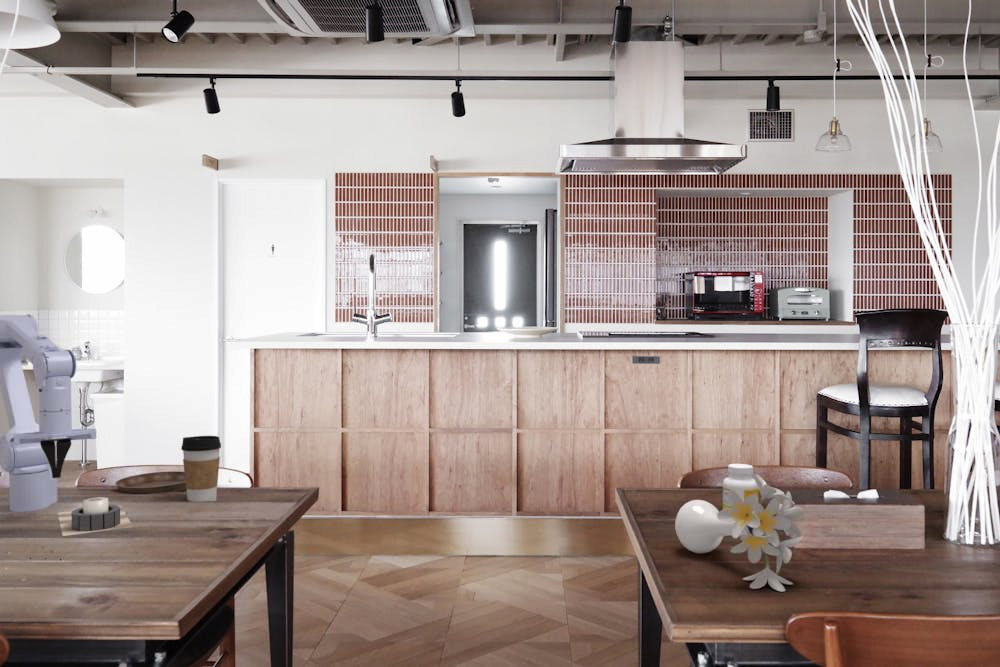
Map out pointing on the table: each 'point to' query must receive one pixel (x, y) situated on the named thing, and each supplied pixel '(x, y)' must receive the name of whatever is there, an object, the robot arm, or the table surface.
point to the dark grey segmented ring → (95, 519)
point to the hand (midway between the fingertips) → (56, 477)
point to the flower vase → (744, 529)
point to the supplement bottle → (739, 483)
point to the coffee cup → (201, 467)
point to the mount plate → (66, 529)
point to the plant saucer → (153, 482)
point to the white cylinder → (95, 505)
